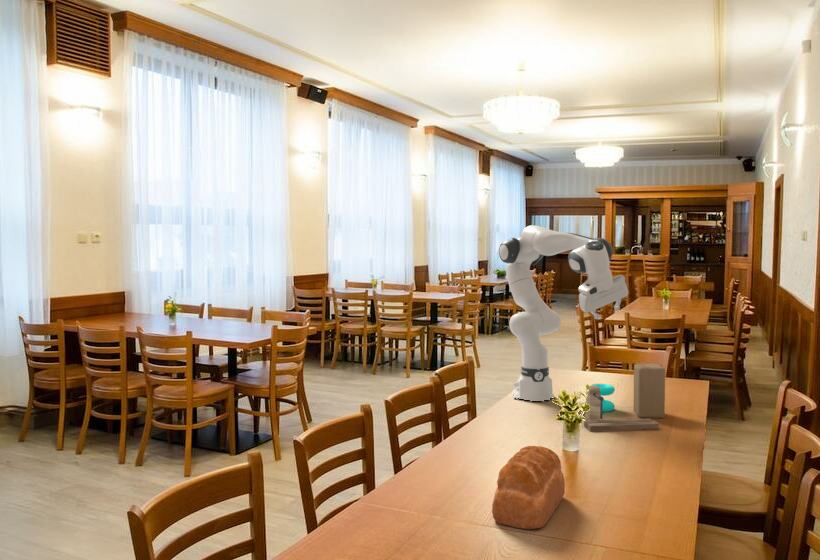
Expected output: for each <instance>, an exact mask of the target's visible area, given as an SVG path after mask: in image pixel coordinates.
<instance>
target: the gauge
mask: <svg viewBox="0 0 820 560" xmlns="http://www.w3.org/2000/svg"><path fill="white" fill-rule="evenodd" d="M589 386H590V388H589V391H588V392H587V388H586V387H585V396H586V395H587V394H588V397H587V398H586V397H585V404H586V403H587V404H589V405H590V410H589V411H588V412H586V411H585V420H586V419H587V421H598V420H603V412H602V411H603V400H605V398H604V397H603V396H600V387H598V386H591V385H589Z"/></svg>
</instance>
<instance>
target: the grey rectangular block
mask: <svg viewBox="0 0 820 560" xmlns="http://www.w3.org/2000/svg"><path fill="white" fill-rule="evenodd" d="M665 390H666V369H665V367H663V366H662V365H660V364H658V363H634V365H633V412H634V413H635V414H636V415H637V417H639V418H640V417H641V418H640V419H663V418H665V415H666V414H665V409H666V406H665V402H666V398H665V397H666V391H665Z"/></svg>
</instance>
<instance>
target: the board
mask: <svg viewBox="0 0 820 560" xmlns="http://www.w3.org/2000/svg"><path fill="white" fill-rule="evenodd" d="M659 425H660V424H659V422H656V421H655V420H653V418H630V419H629V418H628V419H626V418H625V419H607V420H606V419H605V420H603V419H600V420H598V421H586V420H583V427H584V428H586V429H587V430H588V431H589V432H610V431H612V432H613V431H639V430H640V431H641V430H642V429H645V430H659V428H660V426H659ZM642 431H643V430H642Z"/></svg>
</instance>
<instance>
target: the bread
mask: <svg viewBox="0 0 820 560" xmlns="http://www.w3.org/2000/svg"><path fill="white" fill-rule="evenodd" d="M559 457H560V456H559V455H558V454H557V453H556V452H554V451H553V450H552V449H550V448H548V447H546V446H545V447H544V446H542V445H539V446H538V445H527V446H524V447H522V448H520V449H519V451H517V452H516V453H515V454H514V455H513V456H512V457H510V459H508V461H507V463H506V464H505V465H504V466H502V467H501V468H500V470H499V472H498V477H497V481H496V482H497V483H496V485H497V487H496V490H495V492H494V496H493V501H492V505H491V506H492V507H491V508H492V509H491V513H492V517H493V519H494V521H496V522H497V524H500V525H503V526H507V527H511V528H516V529H524V530H526V529H527V530H533V529H534V530H535V529H542V528H543V527H545V526H546V524H548V521H549V520H550V518H551V517H552V515H553V514H554V512H555V510H557V509H558V508H559V506H560V504H561V502H562V499H563V497H564V495H565V493H566V492H565V488H566V487H565V485H566V484H565V477H564V473H563V472H562V471H563V470H562V463H561V460H560V458H559Z"/></svg>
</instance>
